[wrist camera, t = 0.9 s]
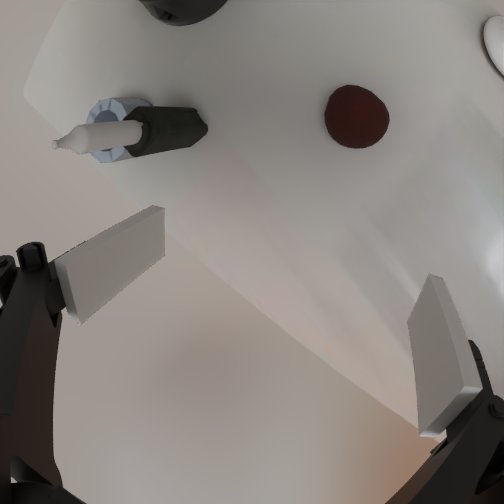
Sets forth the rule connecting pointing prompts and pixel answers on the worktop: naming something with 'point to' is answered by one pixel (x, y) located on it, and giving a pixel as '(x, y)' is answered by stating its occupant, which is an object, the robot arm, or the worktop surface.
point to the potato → (356, 117)
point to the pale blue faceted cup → (108, 113)
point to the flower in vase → (495, 40)
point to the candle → (138, 132)
